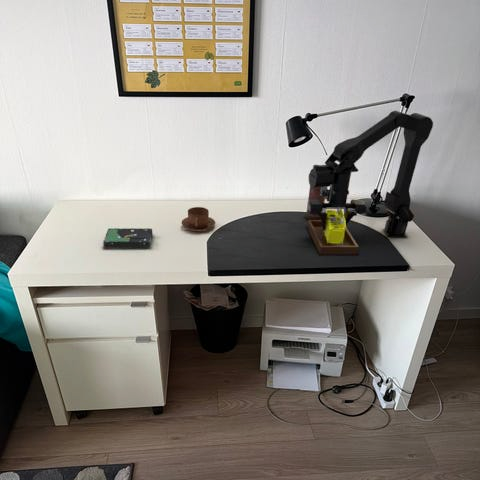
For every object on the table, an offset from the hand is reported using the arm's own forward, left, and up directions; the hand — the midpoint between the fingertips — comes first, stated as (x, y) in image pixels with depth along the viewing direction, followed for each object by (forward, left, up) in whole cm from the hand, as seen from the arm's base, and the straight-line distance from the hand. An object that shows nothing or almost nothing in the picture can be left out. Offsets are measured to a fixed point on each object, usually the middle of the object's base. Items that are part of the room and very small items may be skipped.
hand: (332, 230), depth 150 cm
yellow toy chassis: (0, 0, -2) cm, 2 cm away
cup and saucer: (+46, -10, -4) cm, 47 cm away
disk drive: (+69, +2, -4) cm, 69 cm away
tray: (0, 0, -4) cm, 4 cm away
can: (+2, -18, -4) cm, 19 cm away
